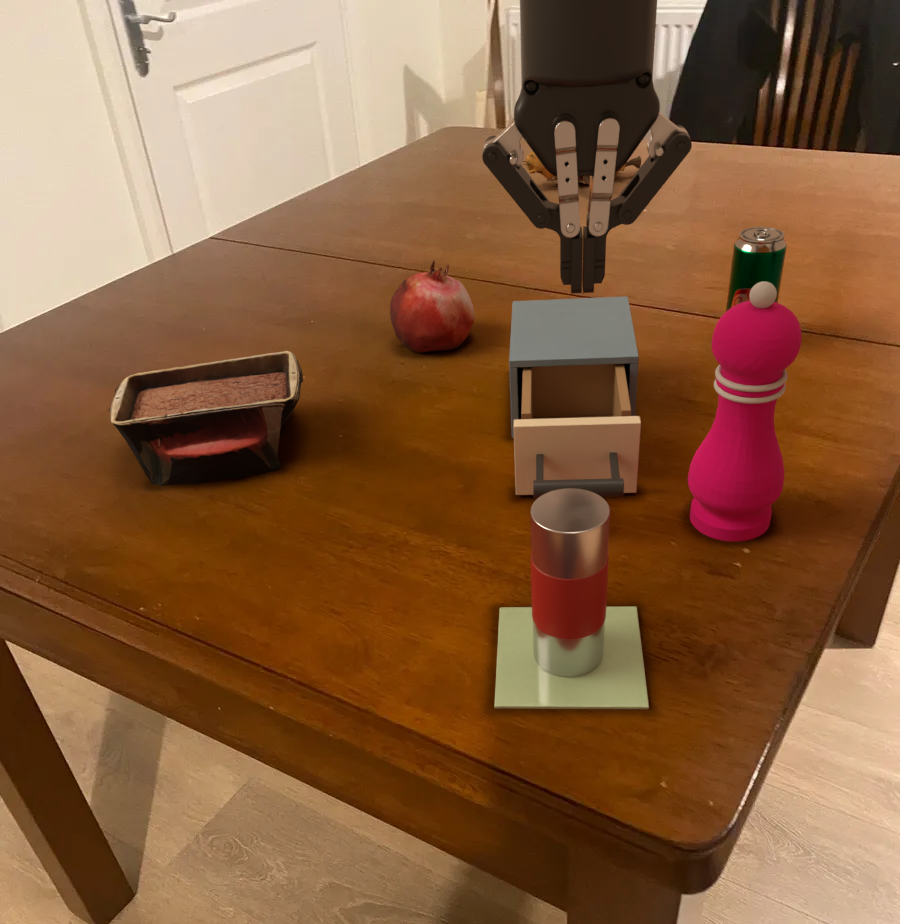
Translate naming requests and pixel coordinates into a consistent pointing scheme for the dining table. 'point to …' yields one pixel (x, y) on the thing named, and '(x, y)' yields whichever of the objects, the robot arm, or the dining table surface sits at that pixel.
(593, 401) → the drawer
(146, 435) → the baking dish
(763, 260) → the soda can
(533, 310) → the cabinet
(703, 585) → the dining table surface
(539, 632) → the tin
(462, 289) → the fruit
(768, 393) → the pepper mill
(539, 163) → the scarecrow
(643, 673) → the tile
